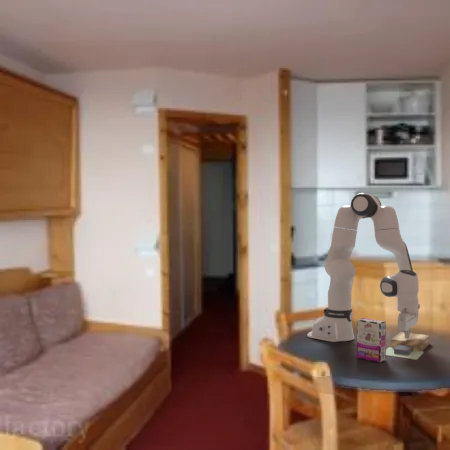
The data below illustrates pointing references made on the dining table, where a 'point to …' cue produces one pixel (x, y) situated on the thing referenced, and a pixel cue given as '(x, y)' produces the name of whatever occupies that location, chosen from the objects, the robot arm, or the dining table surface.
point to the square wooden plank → (411, 341)
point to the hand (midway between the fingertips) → (407, 337)
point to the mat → (412, 355)
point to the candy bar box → (371, 340)
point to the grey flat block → (403, 349)
